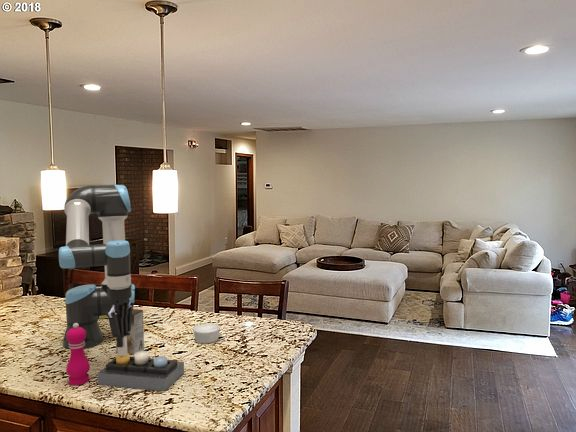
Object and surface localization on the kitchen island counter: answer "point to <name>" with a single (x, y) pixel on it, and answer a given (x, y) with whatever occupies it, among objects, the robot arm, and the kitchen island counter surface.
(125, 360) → the amber button
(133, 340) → the coffee box
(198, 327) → the ramekin
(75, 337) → the pepper mill
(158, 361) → the blue button
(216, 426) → the kitchen island counter surface
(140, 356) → the cream rounded cylinder
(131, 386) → the button console
